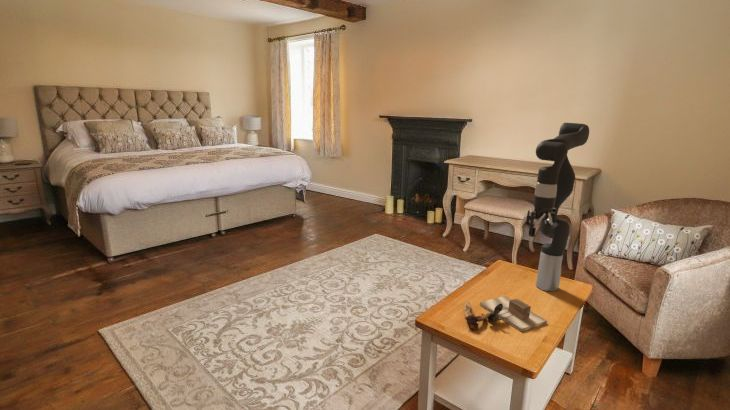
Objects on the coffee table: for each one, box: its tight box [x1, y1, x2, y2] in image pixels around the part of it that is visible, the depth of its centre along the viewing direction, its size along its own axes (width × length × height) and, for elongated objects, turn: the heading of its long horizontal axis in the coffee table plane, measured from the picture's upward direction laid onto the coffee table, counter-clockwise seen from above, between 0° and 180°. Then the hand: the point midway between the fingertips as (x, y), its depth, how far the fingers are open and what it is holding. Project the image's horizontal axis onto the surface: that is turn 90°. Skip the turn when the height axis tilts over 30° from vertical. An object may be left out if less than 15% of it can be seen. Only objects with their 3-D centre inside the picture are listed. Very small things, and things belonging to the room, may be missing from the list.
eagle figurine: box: [485, 303, 504, 326], centre depth 154 cm, size 8×7×9 cm
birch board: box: [479, 295, 548, 332], centre depth 160 cm, size 14×22×1 cm, turn 27°
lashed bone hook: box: [462, 301, 487, 331], centre depth 155 cm, size 9×5×18 cm
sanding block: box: [508, 298, 532, 320], centre depth 156 cm, size 4×7×5 cm, turn 27°
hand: (539, 234), depth 154 cm, fingers open, 8 cm apart
